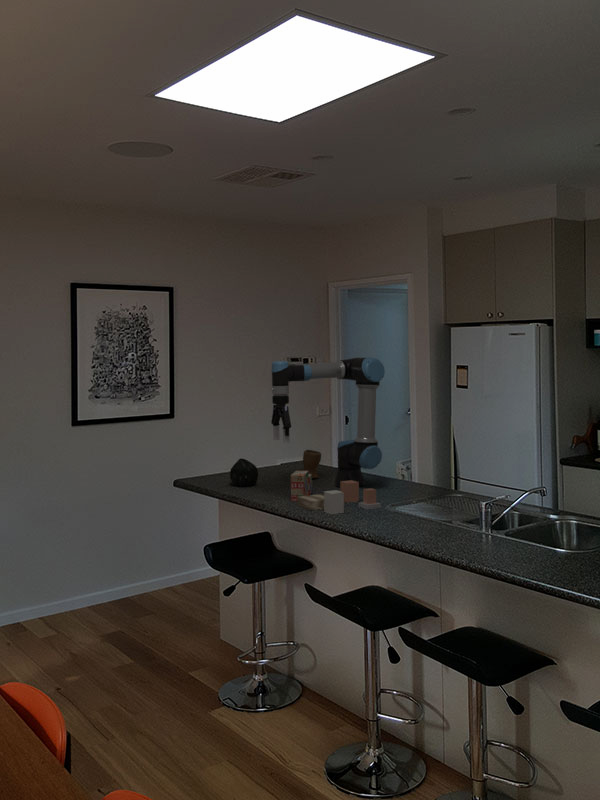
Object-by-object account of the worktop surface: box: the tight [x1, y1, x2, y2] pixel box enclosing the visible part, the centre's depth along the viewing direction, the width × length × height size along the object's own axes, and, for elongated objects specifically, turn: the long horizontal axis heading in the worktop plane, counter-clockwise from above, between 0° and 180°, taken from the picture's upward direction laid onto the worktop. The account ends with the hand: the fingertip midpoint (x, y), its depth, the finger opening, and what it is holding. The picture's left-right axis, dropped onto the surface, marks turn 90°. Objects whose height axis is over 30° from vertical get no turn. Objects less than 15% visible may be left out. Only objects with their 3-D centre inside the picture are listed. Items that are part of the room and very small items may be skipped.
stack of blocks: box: [290, 470, 313, 502], centre depth 355 cm, size 21×6×12 cm, turn 169°
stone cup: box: [297, 449, 322, 479], centre depth 409 cm, size 15×12×15 cm
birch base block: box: [296, 493, 324, 511], centre depth 332 cm, size 12×12×4 cm
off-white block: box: [323, 489, 345, 515], centre depth 319 cm, size 6×6×9 cm
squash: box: [229, 458, 259, 487], centre depth 387 cm, size 14×15×15 cm
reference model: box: [358, 487, 382, 511], centre depth 329 cm, size 7×7×8 cm
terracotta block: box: [339, 480, 360, 504], centre depth 343 cm, size 6×6×9 cm
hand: (281, 441), depth 346 cm, fingers open, 13 cm apart
